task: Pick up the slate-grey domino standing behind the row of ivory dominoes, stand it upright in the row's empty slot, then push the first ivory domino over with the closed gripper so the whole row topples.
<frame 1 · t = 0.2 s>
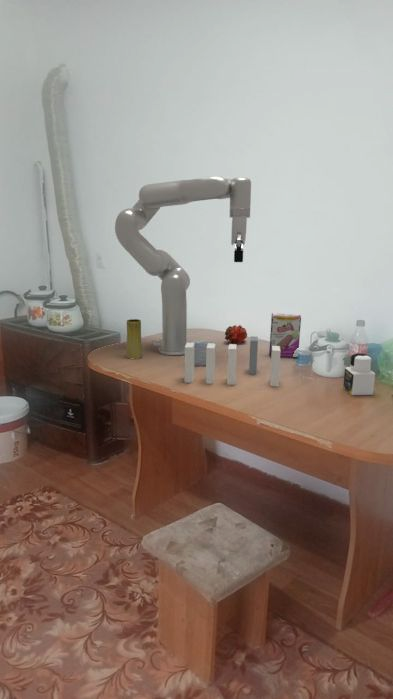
hand: (238, 260, 193), 36 cm above the table, tool pointing down, fingers open, 9 cm apart
medicine bottle: (357, 392, 163), on the table
domino 1: (189, 379, 172), on the table
domino 2: (210, 380, 171), on the table
medicine box: (200, 365, 189), on the table
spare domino: (252, 371, 182), on the table
dragon fruit: (236, 343, 221), on the table
domino 3: (231, 381, 171), on the table
vase: (134, 357, 198), on the table
domino 5: (274, 383, 169), on the table
candy bar box: (283, 356, 202), on the table
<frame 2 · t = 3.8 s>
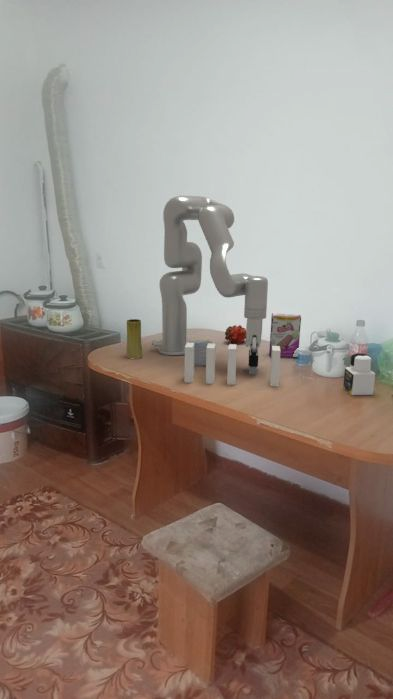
hand: (253, 363, 181), 3 cm above the table, tool pointing down, fingers closed on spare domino, 6 cm apart
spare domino: (252, 371, 182), on the table, touching gripper
everything else where it was.
when the fingers open (4 cm above the table, at t = 10.2 s): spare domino stays where it is, on the table.
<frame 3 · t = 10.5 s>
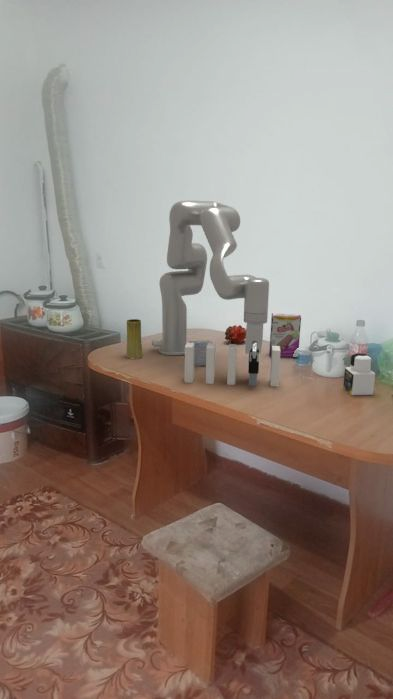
hand: (253, 368, 169), 5 cm above the table, tool pointing down, fingers open, 9 cm apart
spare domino: (252, 382, 170), on the table
everything else where it was.
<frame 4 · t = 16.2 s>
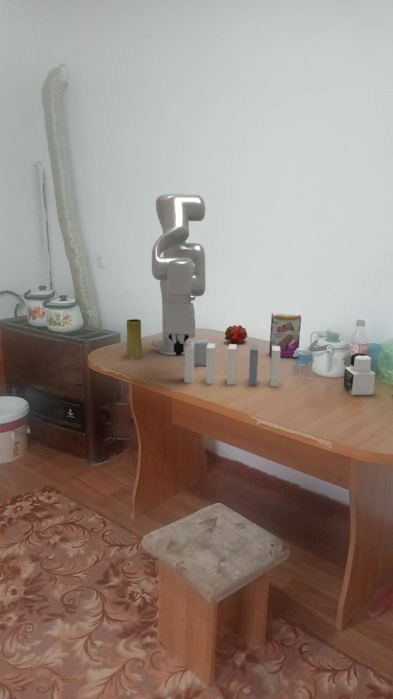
hand: (178, 354, 170), 9 cm above the table, tool pointing down, fingers closed
domino 1: (189, 379, 172), on the table, touching gripper
everything else where it was.
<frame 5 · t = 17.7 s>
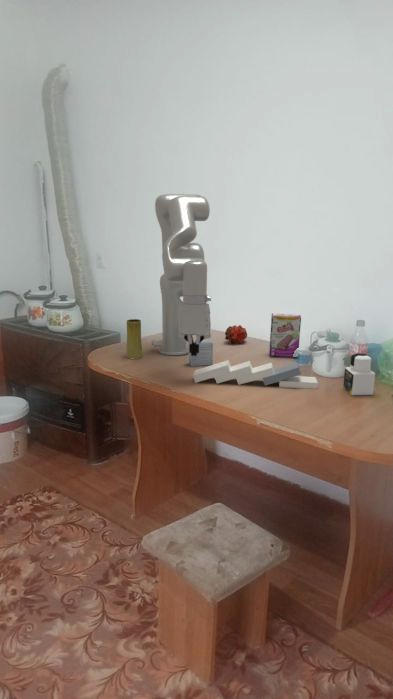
hand: (194, 355, 170), 9 cm above the table, tool pointing down, fingers closed
domino 1: (195, 376, 172), point 1 cm above the table, tilted 69°, touching domino 2
domino 2: (216, 377, 171), point 1 cm above the table, tilted 69°, touching domino 1, domino 3
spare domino: (263, 379, 169), point 1 cm above the table, tilted 68°
domino 3: (237, 378, 170), point 1 cm above the table, tilted 71°, touching domino 2
domino 5: (278, 381, 169), point 1 cm above the table, tilted 90°
everything else where it was.
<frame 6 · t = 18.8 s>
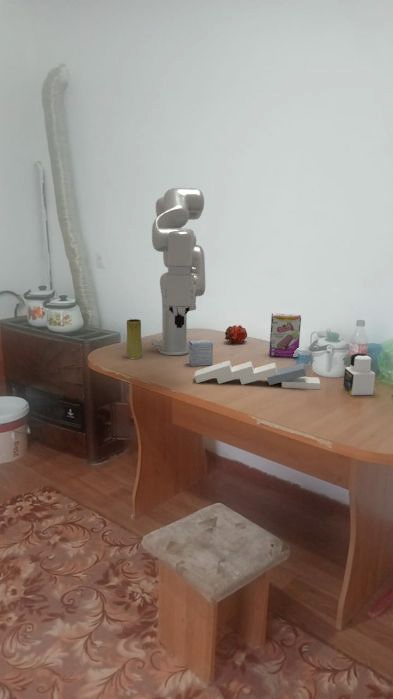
hand: (179, 327, 168), 18 cm above the table, tool pointing down, fingers closed
domino 2: (217, 377, 171), point 1 cm above the table, tilted 70°, touching domino 1
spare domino: (269, 378, 169), point 2 cm above the table, tilted 70°, touching domino 3, domino 5
domino 3: (241, 378, 170), point 1 cm above the table, tilted 70°, touching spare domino
domino 5: (281, 382, 169), point 1 cm above the table, tilted 90°, touching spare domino
everything else where it was.
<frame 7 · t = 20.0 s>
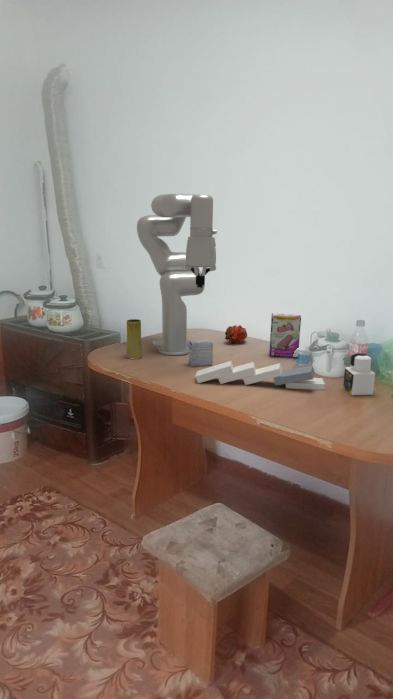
hand: (200, 287, 179), 29 cm above the table, tool pointing down, fingers closed
domino 2: (219, 377, 171), point 1 cm above the table, tilted 71°, touching domino 1, domino 3
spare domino: (275, 378, 167), point 2 cm above the table, tilted 74°
domino 3: (245, 378, 170), point 1 cm above the table, tilted 70°, touching domino 2
domino 5: (285, 383, 168), point 1 cm above the table, tilted 90°
everything else where it was.
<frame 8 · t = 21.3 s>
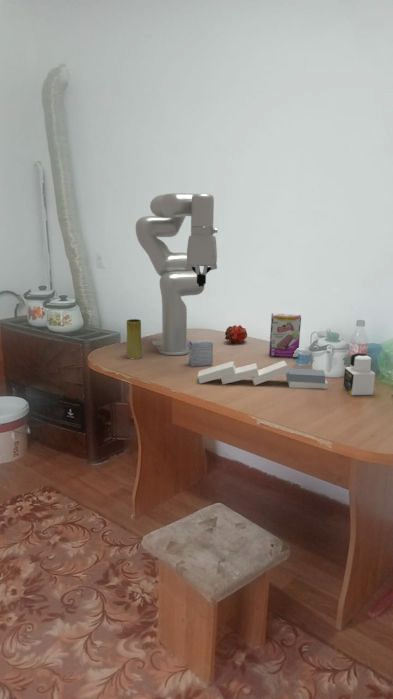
hand: (201, 285, 180), 29 cm above the table, tool pointing down, fingers closed
domino 1: (199, 377, 171), point 1 cm above the table, tilted 71°
domino 2: (222, 377, 171), point 1 cm above the table, tilted 73°, touching domino 3
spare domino: (286, 374, 168), point 3 cm above the table, tilted 90°, touching domino 3, domino 5
domino 3: (252, 379, 170), point 1 cm above the table, tilted 68°, touching domino 2, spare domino
domino 5: (288, 382, 169), point 1 cm above the table, tilted 90°, touching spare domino
everything else where it was.
at the end: domino 5 tilted 90°; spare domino tilted 90°; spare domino inside the target area (5.5 cm from its centre), point 3.2 cm above the table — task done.
